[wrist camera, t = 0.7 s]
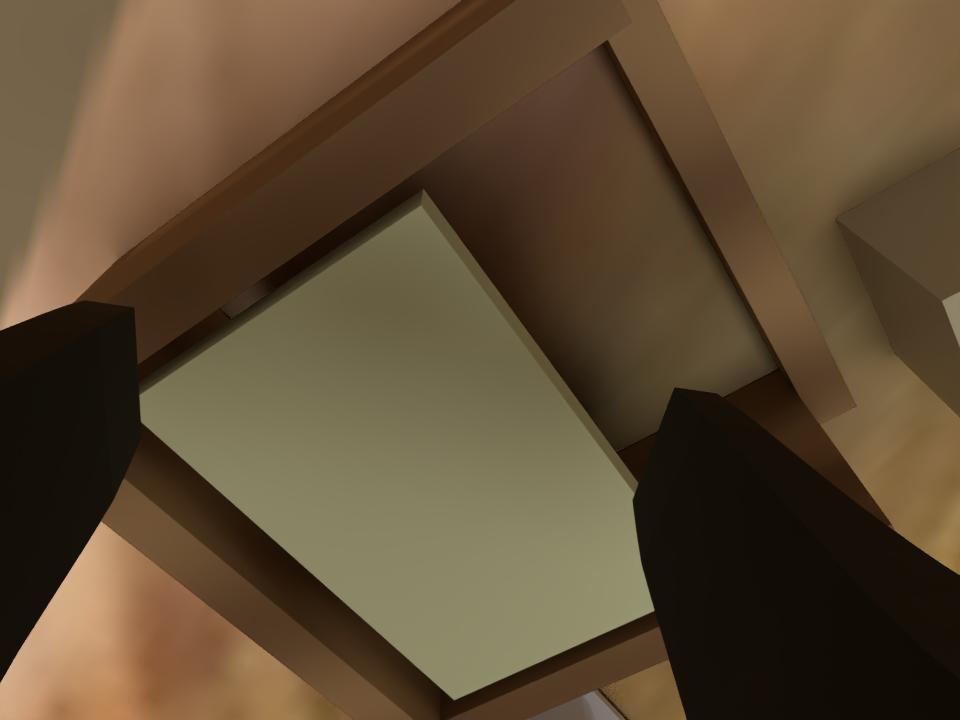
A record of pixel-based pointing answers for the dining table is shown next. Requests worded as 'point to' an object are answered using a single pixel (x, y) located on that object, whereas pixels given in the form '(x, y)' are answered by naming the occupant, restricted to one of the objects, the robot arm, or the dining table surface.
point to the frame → (347, 190)
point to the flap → (414, 454)
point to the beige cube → (915, 270)
